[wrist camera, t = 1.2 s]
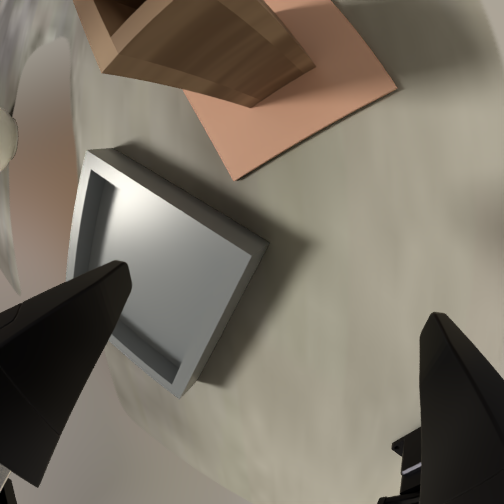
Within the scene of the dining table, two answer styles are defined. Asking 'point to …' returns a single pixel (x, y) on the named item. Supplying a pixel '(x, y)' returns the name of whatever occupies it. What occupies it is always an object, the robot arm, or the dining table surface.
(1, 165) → the lidded jar
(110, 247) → the tray
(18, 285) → the dining table surface
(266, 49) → the sleeve
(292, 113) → the pink square mat
